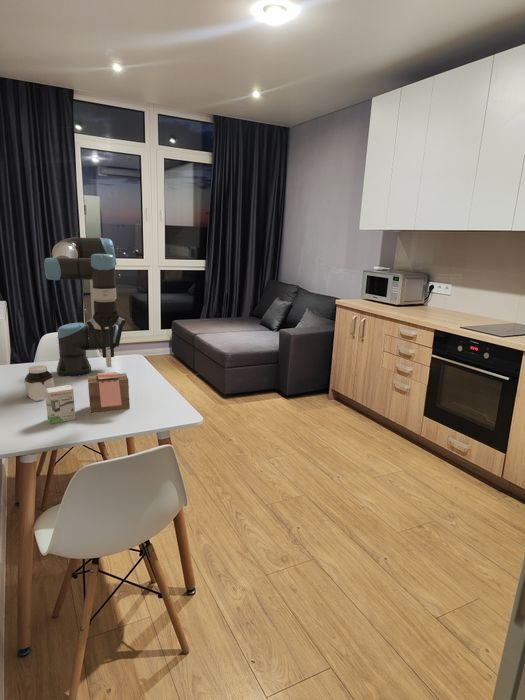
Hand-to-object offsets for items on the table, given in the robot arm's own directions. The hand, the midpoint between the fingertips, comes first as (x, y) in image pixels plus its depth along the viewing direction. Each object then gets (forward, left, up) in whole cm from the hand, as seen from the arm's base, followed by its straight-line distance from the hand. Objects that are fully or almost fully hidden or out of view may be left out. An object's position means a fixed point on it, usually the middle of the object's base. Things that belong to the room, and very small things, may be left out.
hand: (108, 366), depth 155 cm
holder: (-10, 0, -20) cm, 22 cm away
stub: (-2, 0, -11) cm, 12 cm away
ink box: (-4, -17, -20) cm, 26 cm away
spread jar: (-31, -25, -20) cm, 44 cm away
